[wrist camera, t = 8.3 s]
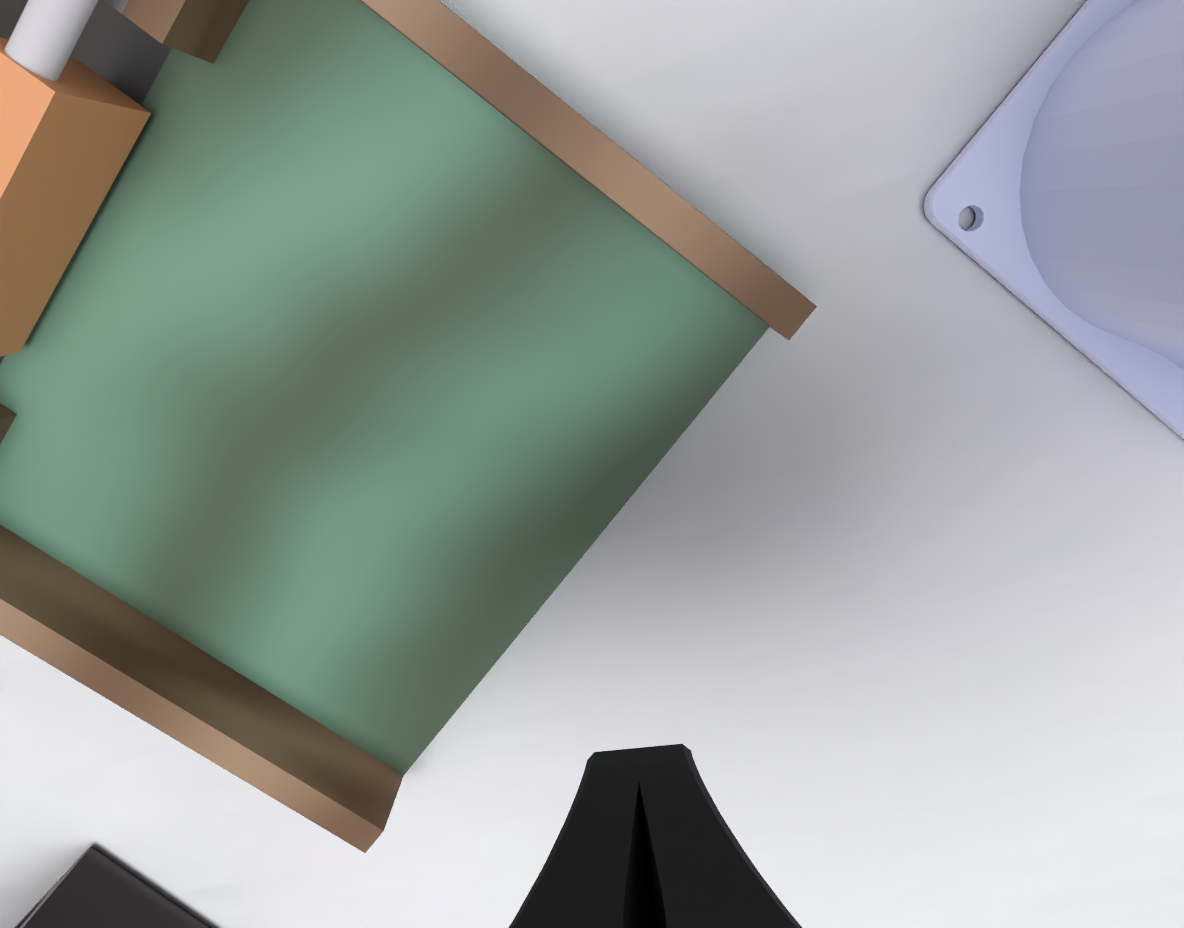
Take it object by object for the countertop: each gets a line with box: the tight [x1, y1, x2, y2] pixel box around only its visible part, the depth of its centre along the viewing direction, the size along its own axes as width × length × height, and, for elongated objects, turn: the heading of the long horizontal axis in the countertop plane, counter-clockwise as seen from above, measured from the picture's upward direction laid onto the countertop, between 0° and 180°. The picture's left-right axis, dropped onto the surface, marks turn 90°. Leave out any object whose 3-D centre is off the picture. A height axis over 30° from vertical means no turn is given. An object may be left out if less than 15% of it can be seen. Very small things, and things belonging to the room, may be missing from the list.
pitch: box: [0, 0, 817, 853], centre depth 17 cm, size 22×16×3 cm
